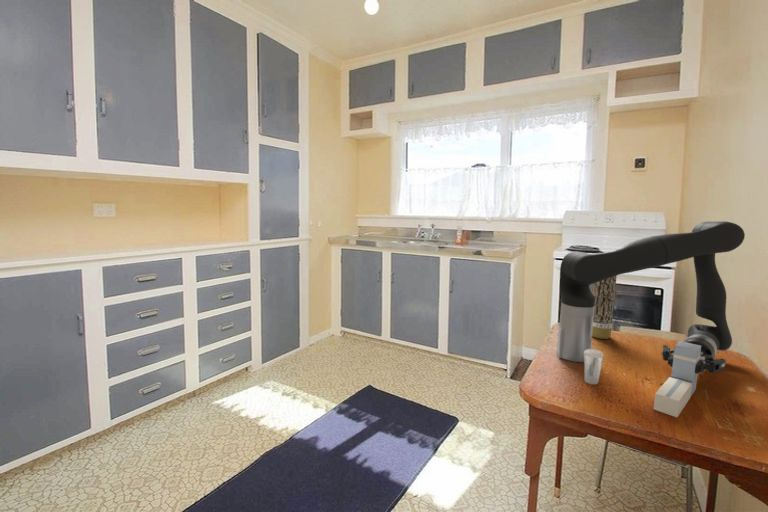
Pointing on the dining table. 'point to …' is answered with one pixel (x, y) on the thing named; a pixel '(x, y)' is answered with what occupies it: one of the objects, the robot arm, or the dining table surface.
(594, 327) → the paper tube
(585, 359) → the milkshake
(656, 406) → the white striped box
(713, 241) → the robot arm
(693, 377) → the tall grey box
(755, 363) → the dining table surface
